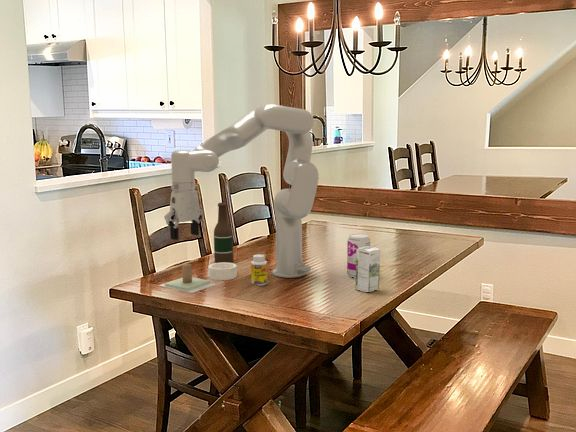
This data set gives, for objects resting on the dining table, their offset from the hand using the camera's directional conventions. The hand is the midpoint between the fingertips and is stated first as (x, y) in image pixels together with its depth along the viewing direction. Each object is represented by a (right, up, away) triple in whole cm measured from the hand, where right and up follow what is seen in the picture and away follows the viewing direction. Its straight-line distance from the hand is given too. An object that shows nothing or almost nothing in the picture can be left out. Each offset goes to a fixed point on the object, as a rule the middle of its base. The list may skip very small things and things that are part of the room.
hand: (184, 237), depth 210 cm
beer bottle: (+10, -12, +37) cm, 39 cm away
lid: (0, -17, +3) cm, 17 cm away
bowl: (+12, -15, +14) cm, 23 cm away
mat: (0, -17, +3) cm, 18 cm away
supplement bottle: (+25, -17, +5) cm, 31 cm away
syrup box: (+62, -18, -3) cm, 64 cm away
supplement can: (+61, -15, +14) cm, 64 cm away
